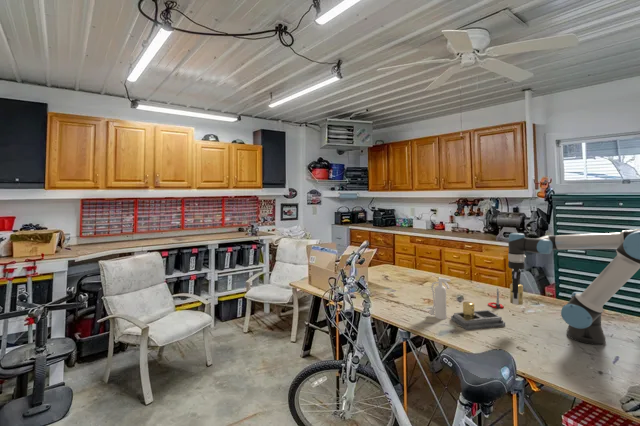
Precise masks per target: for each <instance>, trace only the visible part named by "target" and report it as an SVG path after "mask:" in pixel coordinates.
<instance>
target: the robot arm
mask: <svg viewBox="0 0 640 426" xmlns="http://www.w3.org/2000/svg"><path fill="white" fill-rule="evenodd" d="M507 243H508V253H507V257H508V258H507V259H508V263H507V266H508V268H509V269H512V270H511V276H512V277H511V279H512V284H513V290H512V291H511V292H513V304H512V305H516V304H517V305H518V304H519V293H518V284H521V283H520V282H521V273H522V271H523V270H525V267H526V266H525V265H526V264H525V263H526V262H525V259H526V258H527V256H526V255H525V254H526V253H525V252H527V253H532V254H533V253H534V254H541V255H550V254H551V253H552V251H553V250H555V251H556V250H557V251H558V250H615V252H616V256H615V257H614V258H613V259H612V260H611V261H610V263H608V264H607V266H606V267H604V269H603V270H602V271H601V272H600V273H599V274H598V275H597V277H596V278H595V279H594V280H593V281H592V282H591V283H590V284H589V285H588V286H587V287H586V288H585V290H584V291H583V292H581V291H573V292H572V293H571V296H570V297H571V298H570V299H569V301H568V302H567V303H566V304H565V305H563V306H562V307H561V311H560V314H561V318H562V320H563V321H564V322H565V323H566V324H567V325H568V327H567V328H566V335H567V337H569V338H570V339H572V340H574V341H577V342H580V343H583V344H589V345H597V346H598V345H604V344H605V343H606V341H607V340H606V335H605V334H604V330H603V328H602V313H604V308H603V307H604V305H605V304H606V303H607V302H609V300H610V299H611V298H612V297H613V296H614V295H615V294H616V293H617V292H618V291H619V290H620V289H621V288H622V287H623V286H624V285H625V284H626V283H628V281H629V280H631V278H632V277H633V276H634V275H635V274H636V273H637V272H638V271H639V270H640V228H637V229H625V230H622V231H621V232H609V233H608V232H605V233H584V234H583V233H581V234H561V235H560V234H559V235H558V234H557V235H551V234H549V235H542V236H540V237H536V238H533V237H532V238H531V237H526V235H525V233H521V232H511V233H510V234H508V242H507ZM521 270H522V271H521Z"/></svg>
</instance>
